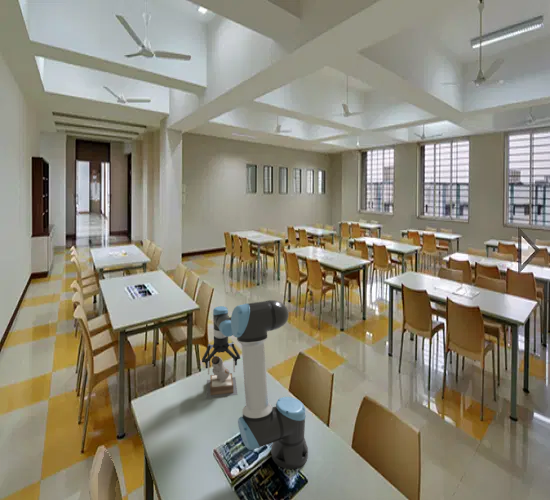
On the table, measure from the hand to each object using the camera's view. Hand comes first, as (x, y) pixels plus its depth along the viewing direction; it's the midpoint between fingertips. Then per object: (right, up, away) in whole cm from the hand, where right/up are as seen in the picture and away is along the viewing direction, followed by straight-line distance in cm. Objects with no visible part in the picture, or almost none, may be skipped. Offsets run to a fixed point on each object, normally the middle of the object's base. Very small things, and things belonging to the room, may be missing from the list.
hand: (221, 371), depth 168 cm
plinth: (0, -9, +2) cm, 9 cm away
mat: (0, -9, +2) cm, 10 cm away
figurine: (-1, -5, +1) cm, 5 cm away
